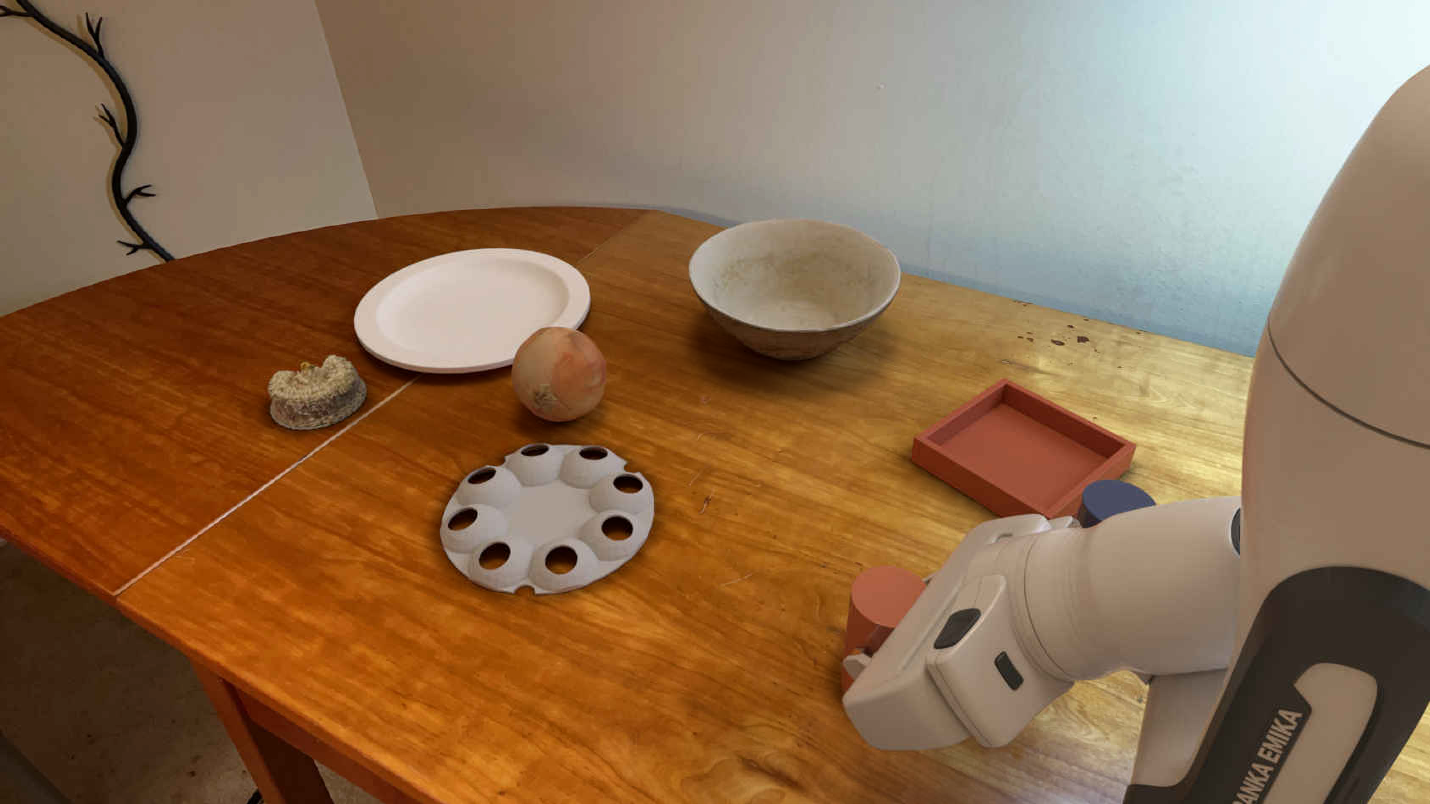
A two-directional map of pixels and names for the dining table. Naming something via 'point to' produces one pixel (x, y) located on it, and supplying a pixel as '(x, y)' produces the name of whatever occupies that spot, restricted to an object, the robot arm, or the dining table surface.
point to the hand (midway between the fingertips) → (876, 633)
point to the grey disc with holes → (547, 518)
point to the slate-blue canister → (1109, 501)
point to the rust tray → (1020, 452)
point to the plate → (468, 309)
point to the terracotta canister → (877, 609)
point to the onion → (559, 374)
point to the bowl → (794, 284)
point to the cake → (316, 394)
